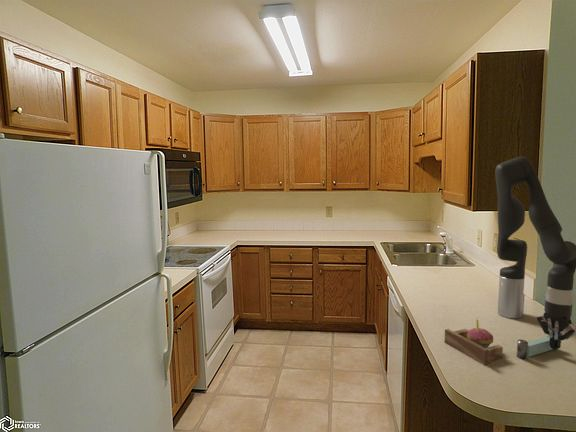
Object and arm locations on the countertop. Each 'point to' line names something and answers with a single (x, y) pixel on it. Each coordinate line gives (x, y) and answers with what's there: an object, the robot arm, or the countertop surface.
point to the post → (522, 349)
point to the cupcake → (480, 336)
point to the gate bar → (538, 346)
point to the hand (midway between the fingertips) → (554, 348)
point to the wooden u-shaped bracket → (472, 347)
